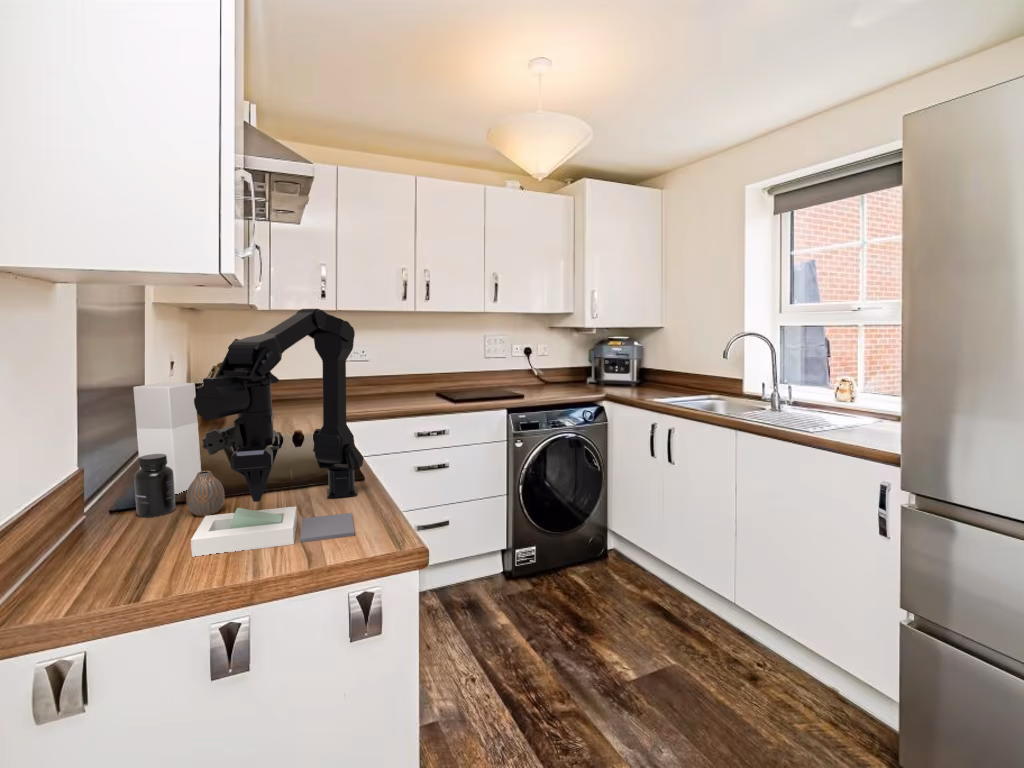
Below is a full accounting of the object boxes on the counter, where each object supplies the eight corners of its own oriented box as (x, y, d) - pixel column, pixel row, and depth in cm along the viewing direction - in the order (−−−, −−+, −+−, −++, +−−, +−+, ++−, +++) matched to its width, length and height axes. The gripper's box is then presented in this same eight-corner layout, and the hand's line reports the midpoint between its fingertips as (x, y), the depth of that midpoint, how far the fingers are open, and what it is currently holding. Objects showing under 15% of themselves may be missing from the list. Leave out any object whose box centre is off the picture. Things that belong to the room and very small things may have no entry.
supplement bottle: (131, 519, 108) (126, 461, 107) (144, 508, 115) (139, 453, 113) (169, 516, 110) (165, 459, 109) (180, 505, 117) (176, 451, 115)
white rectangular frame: (206, 531, 102) (205, 515, 102) (297, 520, 107) (296, 506, 107) (192, 556, 91) (190, 539, 91) (293, 544, 96) (292, 528, 96)
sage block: (232, 522, 100) (237, 507, 100) (277, 530, 103) (282, 515, 103) (229, 530, 96) (233, 514, 96) (276, 538, 99) (280, 522, 99)
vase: (191, 509, 114) (188, 469, 113) (227, 505, 116) (225, 466, 115) (184, 521, 108) (181, 478, 106) (222, 516, 110) (220, 474, 109)
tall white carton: (141, 494, 124) (132, 386, 121) (169, 482, 133) (161, 382, 130) (176, 495, 123) (168, 387, 120) (202, 484, 132) (195, 382, 129)
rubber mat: (302, 521, 107) (302, 518, 107) (351, 515, 110) (351, 512, 110) (299, 542, 97) (299, 539, 97) (354, 535, 100) (354, 532, 100)
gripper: (214, 404, 103) (220, 483, 105) (192, 422, 86) (199, 516, 88) (277, 401, 107) (281, 478, 109) (268, 417, 89) (273, 508, 91)
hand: (259, 493), depth 99 cm, fingers open, 9 cm apart
